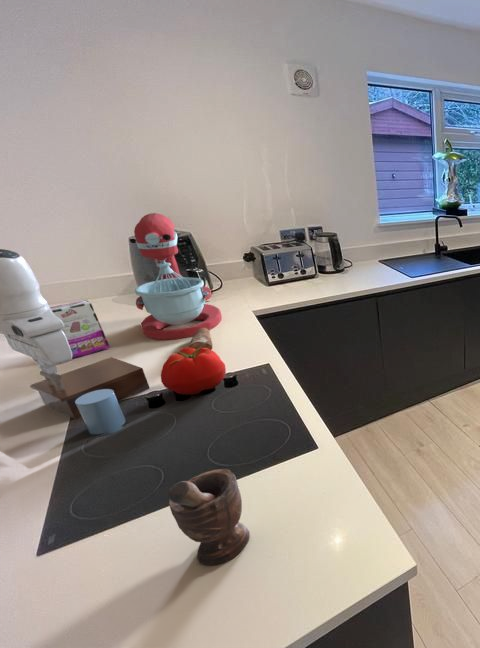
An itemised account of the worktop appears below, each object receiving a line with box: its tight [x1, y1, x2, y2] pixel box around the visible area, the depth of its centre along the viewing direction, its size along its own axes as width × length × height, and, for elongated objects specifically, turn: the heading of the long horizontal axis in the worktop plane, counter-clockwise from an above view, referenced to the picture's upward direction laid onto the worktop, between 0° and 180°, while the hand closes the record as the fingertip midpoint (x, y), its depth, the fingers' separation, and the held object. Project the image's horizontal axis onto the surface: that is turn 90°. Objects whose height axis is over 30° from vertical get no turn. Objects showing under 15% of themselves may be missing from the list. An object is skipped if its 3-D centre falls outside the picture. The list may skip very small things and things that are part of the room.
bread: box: [187, 328, 214, 351], centre depth 134 cm, size 6×19×6 cm, turn 32°
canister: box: [75, 389, 127, 438], centre depth 94 cm, size 6×6×9 cm
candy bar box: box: [49, 299, 111, 360], centre depth 126 cm, size 11×5×16 cm, turn 147°
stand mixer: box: [129, 212, 223, 341], centre depth 144 cm, size 24×32×40 cm
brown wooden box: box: [37, 370, 151, 420], centre depth 105 cm, size 16×15×6 cm
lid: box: [29, 356, 144, 402], centre depth 102 cm, size 16×15×5 cm
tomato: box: [160, 346, 227, 396], centre depth 110 cm, size 13×14×12 cm
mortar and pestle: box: [167, 468, 251, 566], centre depth 63 cm, size 12×9×20 cm
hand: (50, 372), depth 96 cm, fingers closed, pressing on lid
